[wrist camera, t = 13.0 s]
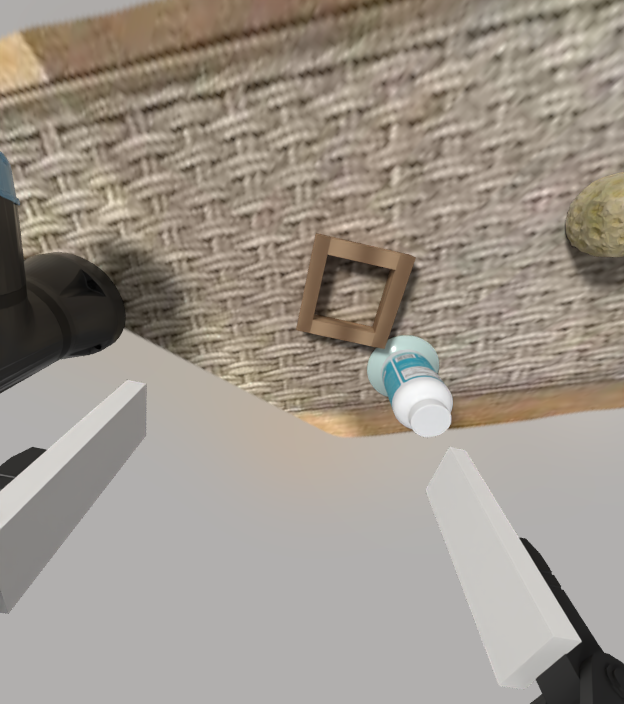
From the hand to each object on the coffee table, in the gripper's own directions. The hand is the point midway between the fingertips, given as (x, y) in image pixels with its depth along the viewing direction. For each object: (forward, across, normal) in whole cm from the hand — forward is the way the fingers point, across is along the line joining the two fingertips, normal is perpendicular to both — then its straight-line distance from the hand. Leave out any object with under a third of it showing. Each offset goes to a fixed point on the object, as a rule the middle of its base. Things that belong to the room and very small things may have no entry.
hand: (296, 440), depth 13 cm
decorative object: (+33, +33, +16) cm, 50 cm away
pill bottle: (+33, +17, -10) cm, 38 cm away
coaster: (+33, +17, -10) cm, 38 cm away
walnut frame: (+33, +6, 0) cm, 34 cm away
